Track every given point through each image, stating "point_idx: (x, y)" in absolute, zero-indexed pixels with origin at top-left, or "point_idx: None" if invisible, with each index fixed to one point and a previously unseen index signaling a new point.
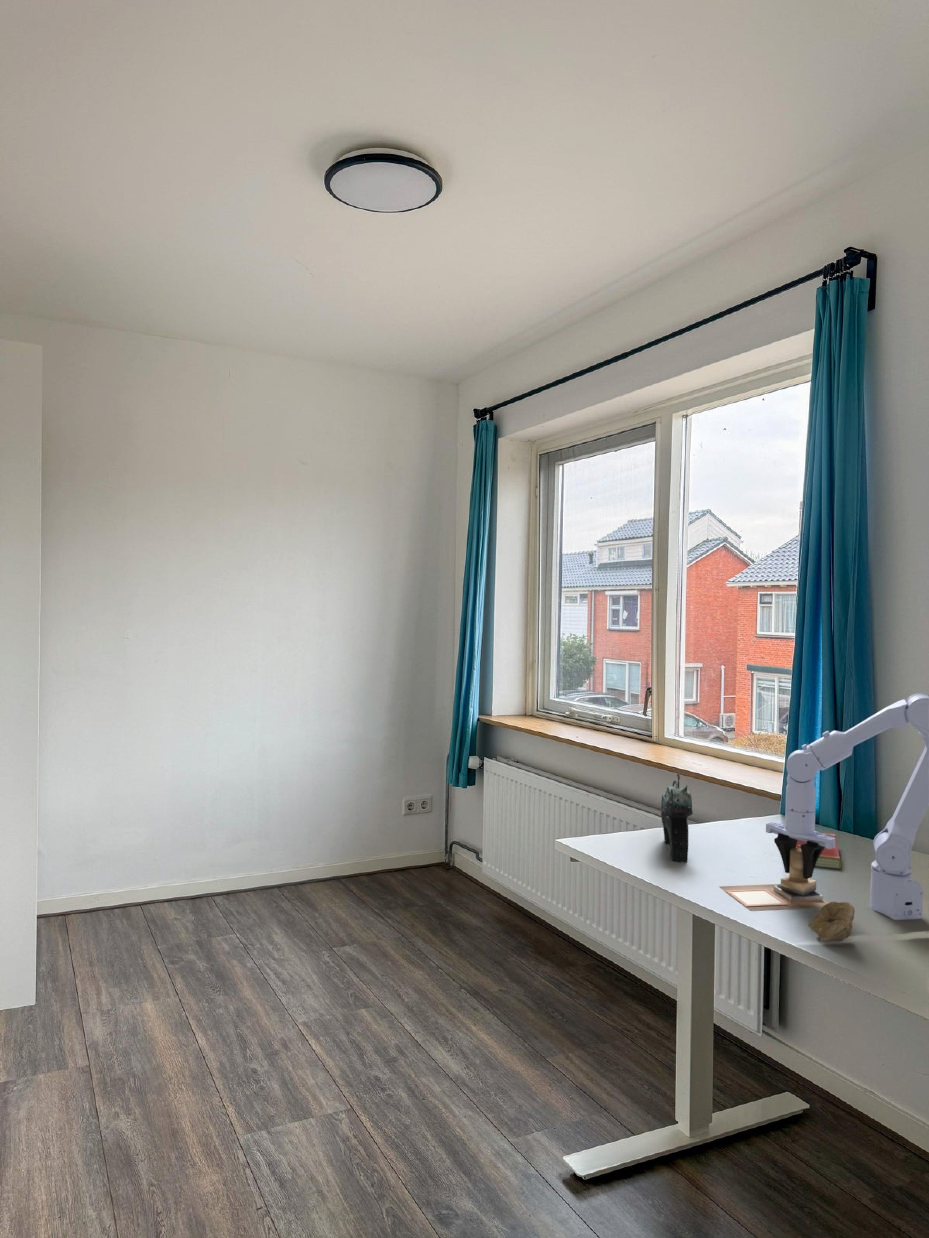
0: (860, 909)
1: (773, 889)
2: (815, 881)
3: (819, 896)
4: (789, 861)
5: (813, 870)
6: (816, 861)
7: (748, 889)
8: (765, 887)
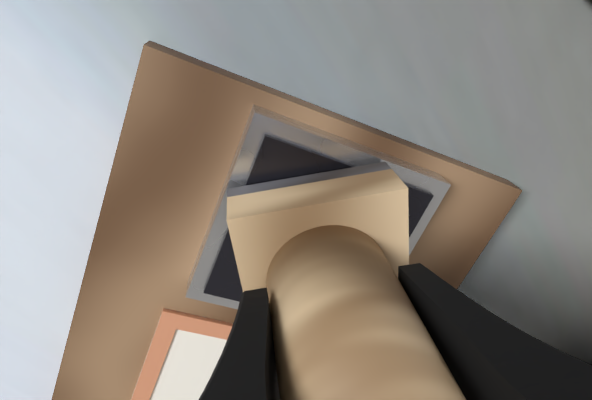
0: (586, 20)
1: (178, 271)
2: (406, 197)
3: (438, 205)
4: (276, 396)
5: (450, 285)
6: (517, 332)
7: (137, 382)
8: (132, 284)
